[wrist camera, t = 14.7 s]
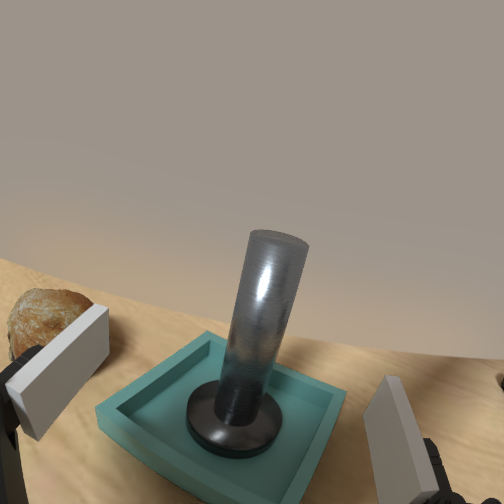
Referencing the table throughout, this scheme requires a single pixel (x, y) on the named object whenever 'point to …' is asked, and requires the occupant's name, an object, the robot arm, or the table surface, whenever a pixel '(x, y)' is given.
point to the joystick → (250, 353)
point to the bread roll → (42, 317)
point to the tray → (203, 462)
